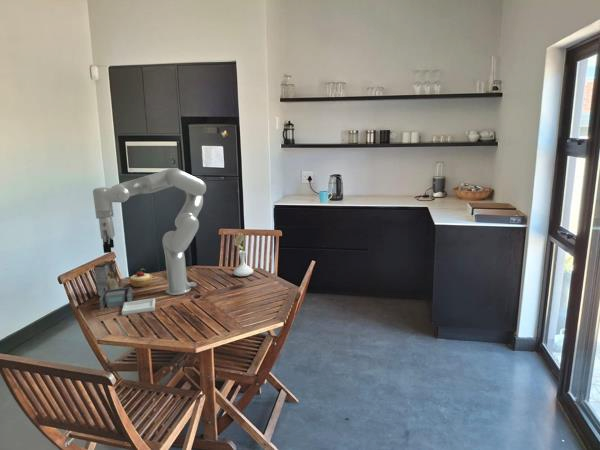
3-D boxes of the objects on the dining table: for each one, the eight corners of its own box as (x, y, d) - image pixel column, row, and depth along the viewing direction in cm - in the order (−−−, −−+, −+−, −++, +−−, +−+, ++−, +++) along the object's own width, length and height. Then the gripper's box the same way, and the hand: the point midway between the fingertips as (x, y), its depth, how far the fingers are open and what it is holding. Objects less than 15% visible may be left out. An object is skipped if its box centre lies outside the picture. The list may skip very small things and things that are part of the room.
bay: (133, 296, 227) (131, 286, 226) (130, 305, 214) (129, 295, 213) (104, 300, 223) (103, 290, 222) (100, 309, 210) (99, 299, 209)
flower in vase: (232, 273, 258) (229, 230, 253) (252, 270, 260) (249, 228, 255) (234, 279, 245) (231, 235, 240) (255, 277, 248) (252, 233, 243)
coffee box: (108, 289, 239) (104, 260, 235) (119, 290, 237) (115, 260, 234) (97, 295, 230) (93, 265, 227) (109, 296, 228) (104, 265, 225)
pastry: (126, 288, 241) (123, 272, 240) (141, 281, 252) (138, 265, 250) (143, 289, 237) (140, 273, 235) (158, 282, 247) (155, 266, 245)
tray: (155, 302, 217) (155, 298, 217) (154, 311, 206) (154, 306, 205) (124, 306, 213) (124, 302, 213) (122, 315, 202) (121, 311, 202)
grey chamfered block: (126, 301, 220) (124, 290, 218) (125, 305, 215) (123, 293, 214) (108, 304, 217) (107, 292, 216) (107, 307, 213) (105, 295, 212)
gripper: (110, 216, 200) (115, 253, 203) (115, 210, 216) (119, 245, 220) (92, 218, 198) (97, 255, 202) (98, 212, 215) (103, 246, 218)
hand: (109, 250), depth 211 cm, fingers open, 9 cm apart
